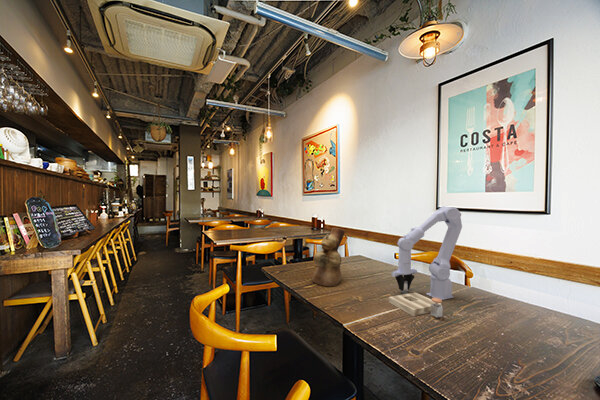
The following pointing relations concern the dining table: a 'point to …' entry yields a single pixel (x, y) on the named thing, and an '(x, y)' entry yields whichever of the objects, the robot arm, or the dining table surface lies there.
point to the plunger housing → (436, 310)
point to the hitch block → (412, 303)
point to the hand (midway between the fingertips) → (404, 289)
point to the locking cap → (436, 301)
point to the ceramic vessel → (329, 259)
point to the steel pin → (405, 288)
